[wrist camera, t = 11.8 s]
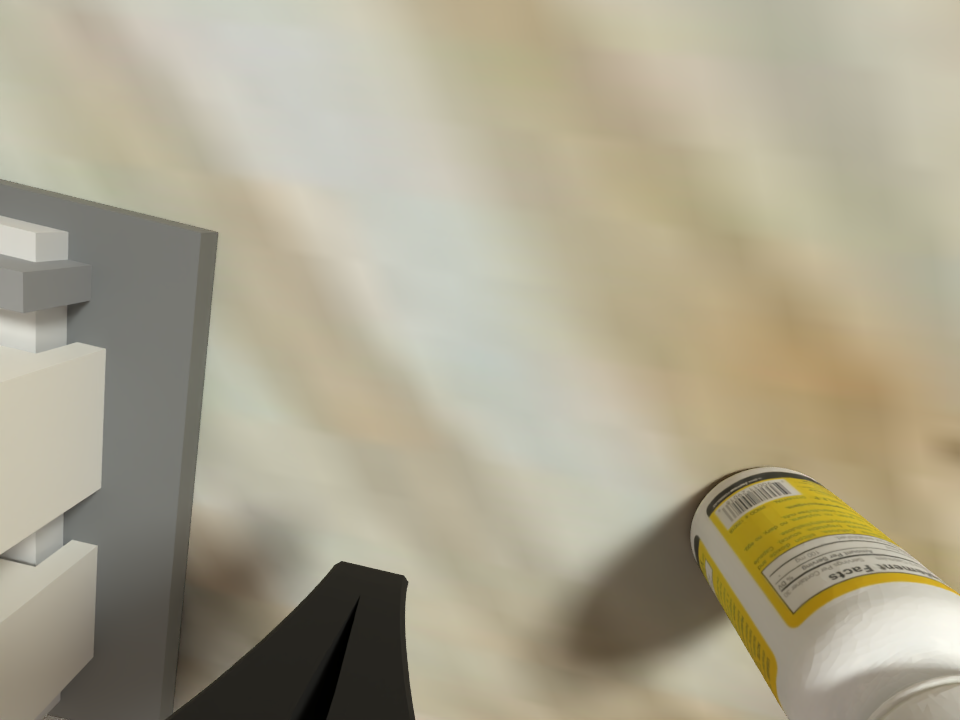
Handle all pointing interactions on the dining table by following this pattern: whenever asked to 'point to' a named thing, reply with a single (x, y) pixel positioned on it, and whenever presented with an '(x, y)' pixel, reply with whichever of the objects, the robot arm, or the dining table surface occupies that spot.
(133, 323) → the rail
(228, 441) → the dining table surface
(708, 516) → the supplement bottle
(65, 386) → the block
